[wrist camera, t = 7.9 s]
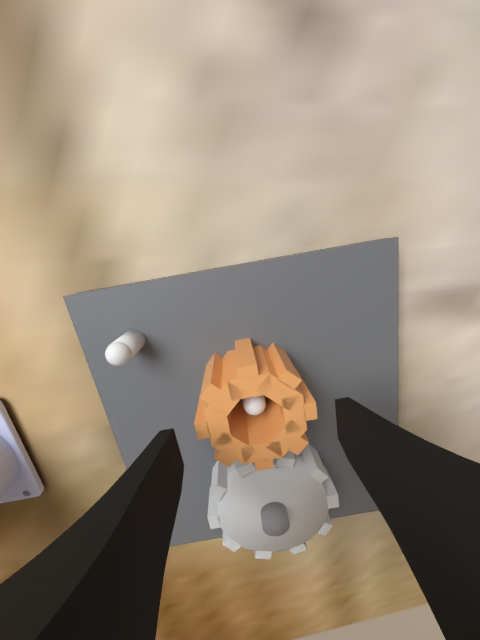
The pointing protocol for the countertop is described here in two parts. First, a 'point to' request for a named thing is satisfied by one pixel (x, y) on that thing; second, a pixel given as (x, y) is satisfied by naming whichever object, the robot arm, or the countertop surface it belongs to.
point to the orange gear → (253, 430)
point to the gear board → (186, 382)
